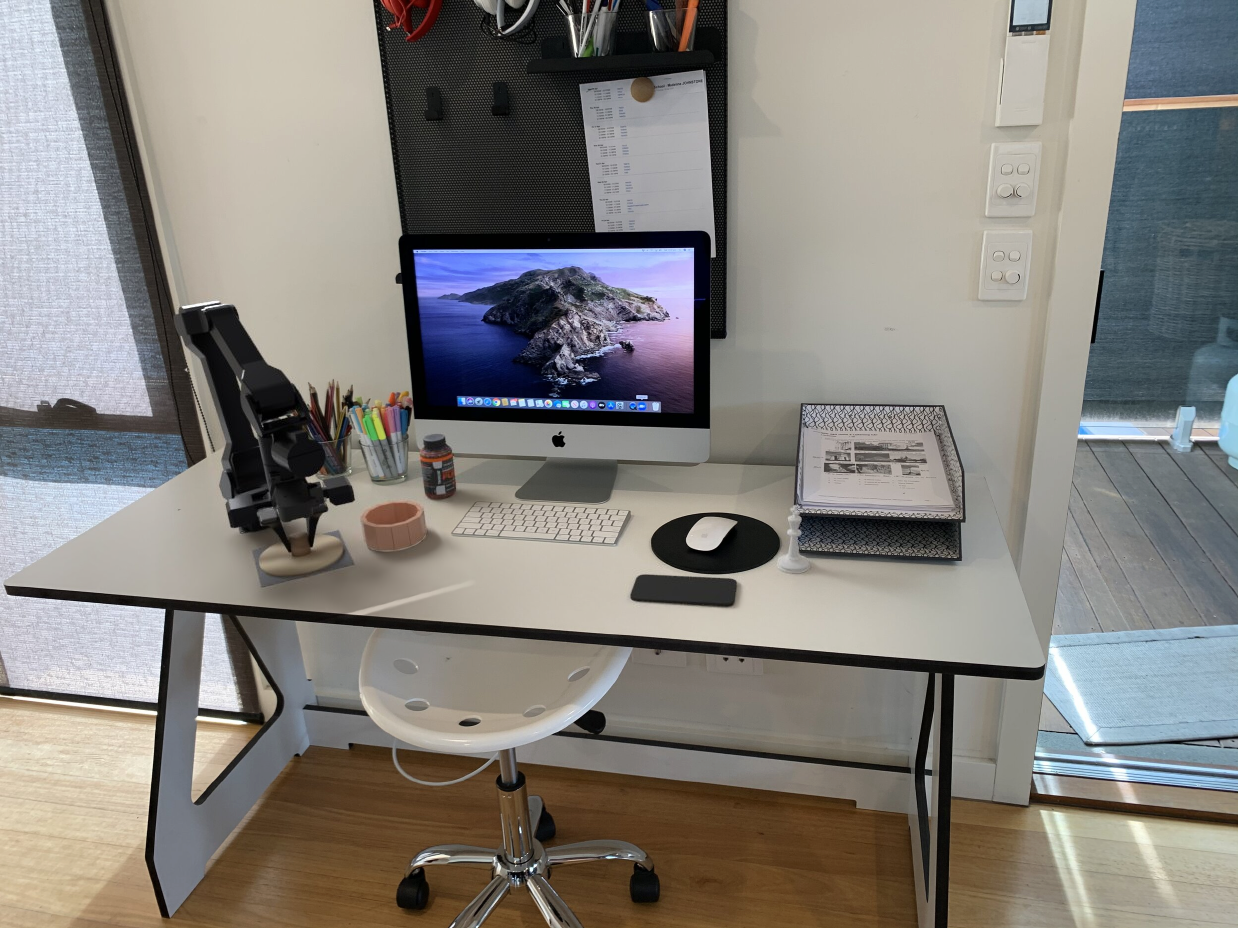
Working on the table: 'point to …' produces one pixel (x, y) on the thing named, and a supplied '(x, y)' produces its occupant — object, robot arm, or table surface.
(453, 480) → the supplement bottle
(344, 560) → the mat
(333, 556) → the lid
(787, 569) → the chess piece
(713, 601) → the phone
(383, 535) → the bowl
